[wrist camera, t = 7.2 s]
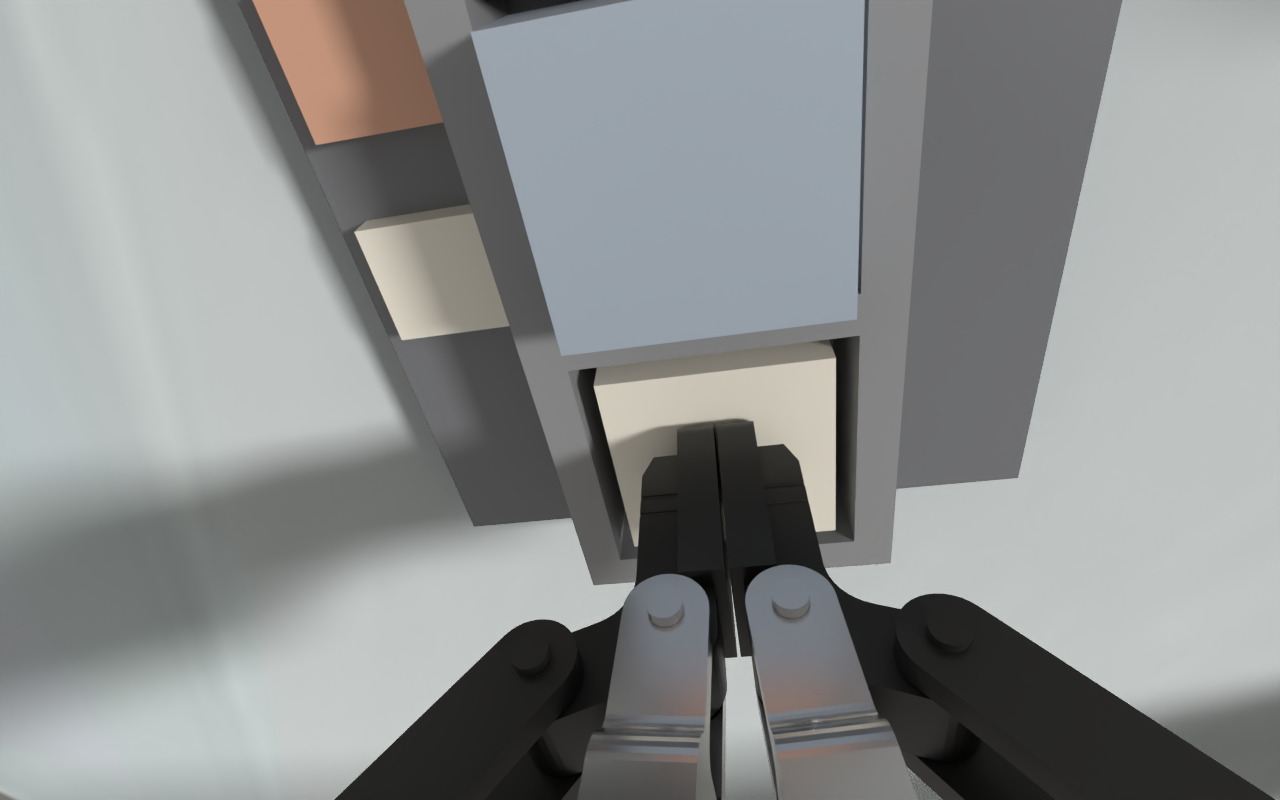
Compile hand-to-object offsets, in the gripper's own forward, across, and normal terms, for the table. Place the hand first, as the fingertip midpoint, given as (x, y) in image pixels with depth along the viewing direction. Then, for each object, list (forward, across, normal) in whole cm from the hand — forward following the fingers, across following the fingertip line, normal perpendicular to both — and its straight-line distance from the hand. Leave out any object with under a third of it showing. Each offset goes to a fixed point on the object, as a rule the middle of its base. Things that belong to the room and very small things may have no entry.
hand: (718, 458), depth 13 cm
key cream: (+2, 0, 0) cm, 2 cm away
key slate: (0, 0, -6) cm, 6 cm away
